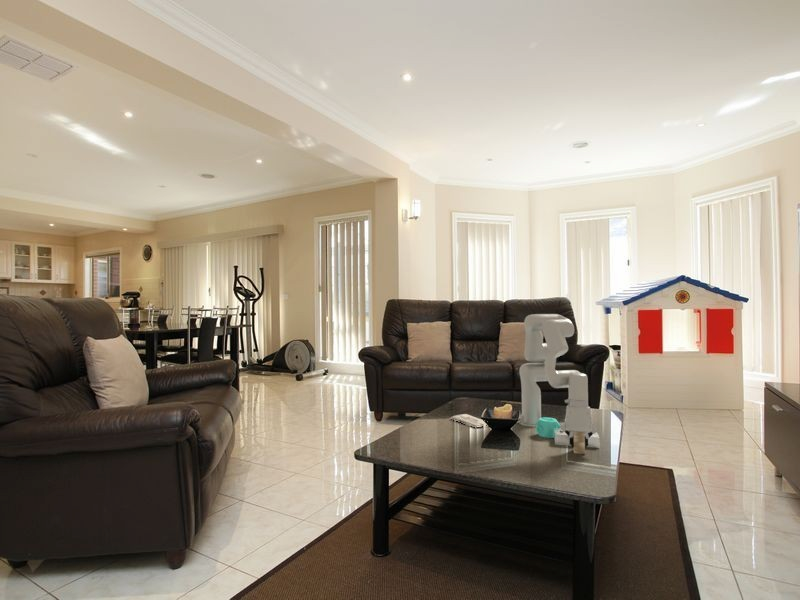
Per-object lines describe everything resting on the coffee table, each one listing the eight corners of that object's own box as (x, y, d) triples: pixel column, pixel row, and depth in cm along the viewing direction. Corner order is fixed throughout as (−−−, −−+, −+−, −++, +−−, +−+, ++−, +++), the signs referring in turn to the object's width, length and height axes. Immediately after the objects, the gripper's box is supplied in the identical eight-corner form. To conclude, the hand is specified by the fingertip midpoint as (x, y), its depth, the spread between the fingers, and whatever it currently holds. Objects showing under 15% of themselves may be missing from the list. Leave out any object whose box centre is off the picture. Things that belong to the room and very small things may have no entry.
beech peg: (574, 454, 182) (573, 430, 182) (573, 451, 186) (572, 427, 186) (585, 455, 181) (584, 431, 181) (583, 452, 185) (583, 428, 185)
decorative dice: (547, 439, 202) (546, 422, 202) (535, 435, 210) (535, 418, 210) (560, 437, 205) (560, 420, 205) (549, 433, 213) (548, 416, 213)
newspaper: (448, 420, 239) (448, 416, 239) (467, 418, 244) (467, 413, 244) (473, 431, 218) (473, 426, 218) (493, 428, 224) (493, 423, 224)
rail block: (555, 445, 194) (554, 433, 194) (554, 439, 203) (553, 427, 203) (599, 449, 188) (599, 436, 188) (596, 442, 198) (596, 430, 198)
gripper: (557, 403, 182) (557, 448, 182) (601, 406, 178) (602, 451, 177) (556, 400, 190) (556, 442, 189) (598, 402, 185) (599, 446, 185)
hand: (578, 446), depth 183 cm, fingers open, 4 cm apart
